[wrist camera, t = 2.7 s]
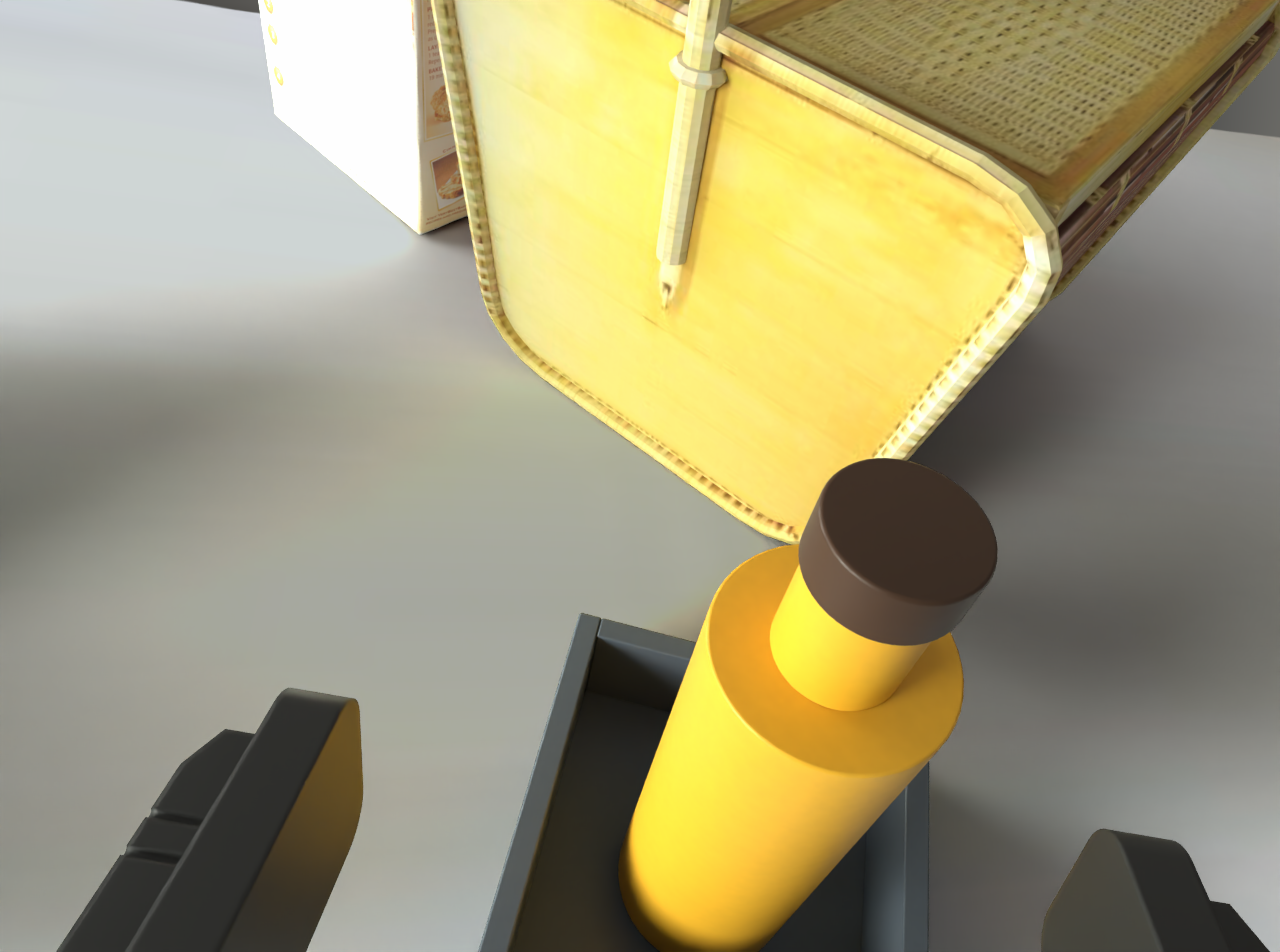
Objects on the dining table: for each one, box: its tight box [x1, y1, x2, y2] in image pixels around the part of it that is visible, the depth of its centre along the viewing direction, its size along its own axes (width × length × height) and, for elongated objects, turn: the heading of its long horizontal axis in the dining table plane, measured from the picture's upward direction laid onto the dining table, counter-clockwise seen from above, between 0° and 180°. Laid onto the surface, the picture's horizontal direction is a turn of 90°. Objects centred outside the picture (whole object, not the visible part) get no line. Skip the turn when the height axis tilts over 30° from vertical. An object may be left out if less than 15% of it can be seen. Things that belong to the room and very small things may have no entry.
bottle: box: [618, 458, 997, 952], centre depth 25 cm, size 6×6×20 cm
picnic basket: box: [431, 0, 1280, 545], centre depth 41 cm, size 29×26×30 cm
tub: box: [478, 613, 929, 952], centre depth 31 cm, size 13×13×5 cm
